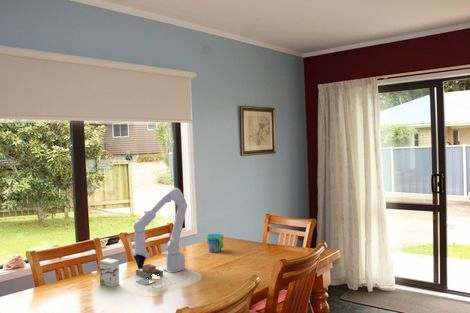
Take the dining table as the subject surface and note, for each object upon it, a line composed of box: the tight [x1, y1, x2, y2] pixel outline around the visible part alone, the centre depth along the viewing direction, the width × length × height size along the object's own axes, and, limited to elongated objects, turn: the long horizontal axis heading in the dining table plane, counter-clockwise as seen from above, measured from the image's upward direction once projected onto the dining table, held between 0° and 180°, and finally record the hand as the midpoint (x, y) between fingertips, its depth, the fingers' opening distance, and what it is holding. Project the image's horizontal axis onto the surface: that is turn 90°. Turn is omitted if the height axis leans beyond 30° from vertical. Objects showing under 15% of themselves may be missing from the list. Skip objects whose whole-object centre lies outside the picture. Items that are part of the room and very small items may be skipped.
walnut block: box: [141, 263, 157, 275], centre depth 217 cm, size 4×6×5 cm
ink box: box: [99, 257, 120, 288], centre depth 204 cm, size 9×5×12 cm, turn 60°
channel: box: [135, 268, 164, 280], centre depth 217 cm, size 8×12×2 cm
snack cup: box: [205, 233, 224, 254], centre depth 264 cm, size 16×10×10 cm
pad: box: [135, 278, 151, 286], centre depth 206 cm, size 6×8×1 cm
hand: (140, 268), depth 223 cm, fingers closed
